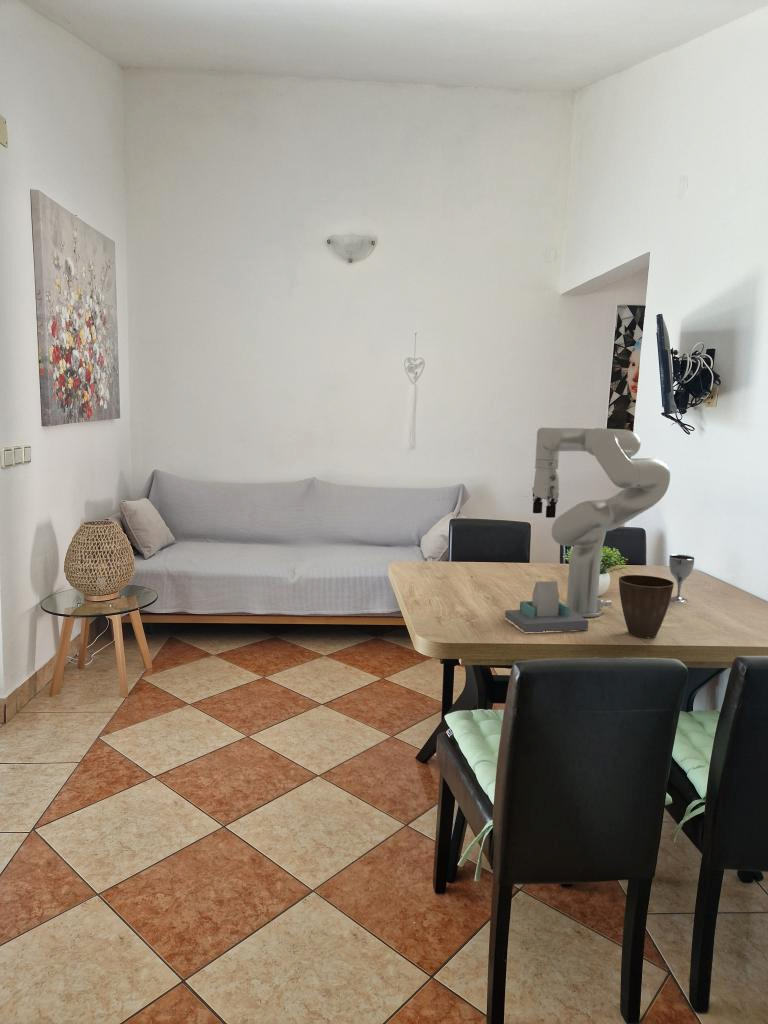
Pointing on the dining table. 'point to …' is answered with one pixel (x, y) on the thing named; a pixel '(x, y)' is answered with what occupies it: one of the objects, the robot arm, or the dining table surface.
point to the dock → (546, 619)
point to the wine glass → (680, 571)
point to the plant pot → (644, 603)
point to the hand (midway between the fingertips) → (543, 515)
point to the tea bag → (546, 598)
